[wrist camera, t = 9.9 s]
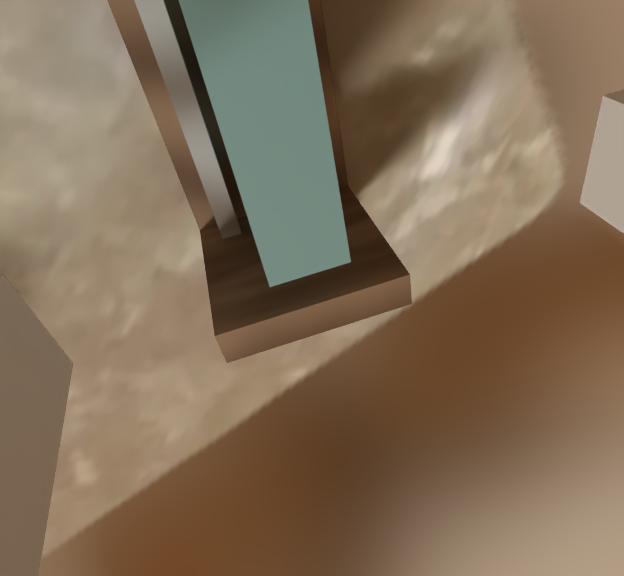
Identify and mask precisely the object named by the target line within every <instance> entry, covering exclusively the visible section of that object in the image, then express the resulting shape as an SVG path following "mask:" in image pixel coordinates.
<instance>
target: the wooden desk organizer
mask: <svg viewBox="0 0 624 576" xmlns="http://www.w3.org/2000/svg"><path fill="white" fill-rule="evenodd" d="M108 3H109V5H110V8H111V10H112V13H113V15H114V18H115V20H116V23H117V25H118V28H119V30H120V33H121V35H122V38H123V40H124V43H125V45H126V48H127V50H128V53H129V55H130V57H131V60H132V62H133V65H134V67H135V70H136V72H137V75H138V77H139V80H140V82H141V85H142V87H143V90H144V92H145V95H146V97H147V100H148V102H149V105H150V107H151V110H152V112H153V115H154V117H155V120H156V122H157V125H158V127H159V130H160V132H161V135H162V137H163V140H164V142H165V145H166V147H167V150H168V152H169V154H170V157H171V159H172V162H173V164H174V167H175V169H176V172H177V174H178V177H179V179H180V182H181V184H182V187H183V189H184V192H185V194H186V197H187V199H188V202H189V204H190V207H191V209H192V212H193V214H194V217H195V219H196V222H197V224H198V227H199V229H200V234H201V241H202V248H203V255H204V262H205V270H206V277H207V284H208V291H209V298H210V305H211V312H212V319H213V326H214V333H215V337H216V340H217V342H218V344H219V346H220V348H221V351H222V353H223V355H224V357H225V359H226V362H227V363H228V362H231V361H234V360H238V359H241V358H244V357H247V356H250V355H253V354H256V353H259V352H263V351H266V350H269V349H272V348H275V347H278V346H281V345H284V344H288V343H291V342H294V341H297V340H300V339H303V338H306V337H309V336H313V335H316V334H319V333H322V332H325V331H328V330H331V329H334V328H337V327H341V326H344V325H347V324H350V323H353V322H356V321H359V320H362V319H366V318H369V317H372V316H375V315H378V314H381V313H384V312H387V311H391V310H394V309H397V308H400V307H403V306H406V305H409V304H412V300H411V284H410V274H409V273H408V271H407V270H406V268H405V267H404V265H403V264H402V263H401V261H400V260H399V258H398V257H397V255H396V254H395V253H394V251H393V250H392V248H391V247H390V245H389V244H388V243H387V241H386V240H385V238H384V237H383V235H382V234H381V233H380V231H379V230H378V228H377V227H376V225H375V224H374V222H373V221H372V220H371V218H370V217H369V215H368V214H367V212H366V211H365V210H364V208H363V207H362V205H361V204H360V202H359V201H358V200H357V198H356V197H355V195H354V194H353V192H352V191H351V190H350V188H349V187H348V182H347V175H346V168H345V162H344V155H343V148H342V142H341V135H340V128H339V122H338V115H337V108H336V101H335V95H334V88H333V81H332V75H331V68H330V61H329V55H328V48H327V41H326V35H325V28H324V21H323V14H322V8H321V1H320V0H308V3H309V9H310V15H311V21H312V27H313V33H314V39H315V45H316V51H317V57H318V64H319V70H320V76H321V82H322V88H323V94H324V100H325V106H326V112H327V118H328V125H329V131H330V137H331V143H332V149H333V155H334V161H335V167H336V173H337V179H338V186H339V192H340V198H341V204H342V210H343V216H344V222H345V228H346V234H347V240H348V247H349V253H350V259H351V262H350V263H346V264H343V265H340V266H337V267H333V268H330V269H327V270H324V271H321V272H317V273H314V274H311V275H308V276H304V277H301V278H298V279H295V280H292V281H288V282H285V283H282V284H279V285H275V286H272V287H270V286H269V283H268V280H267V277H266V274H265V271H264V268H263V264H262V261H261V258H260V255H259V252H258V249H257V246H256V242H255V239H254V236H253V233H252V230H251V227H250V223H249V220H248V217H247V214H246V211H245V208H244V205H243V201H242V198H241V195H240V192H239V189H238V186H237V183H236V179H235V176H234V173H233V170H232V167H231V164H230V161H229V157H228V154H227V151H226V148H225V145H224V142H223V138H222V135H221V132H220V129H219V126H218V123H217V120H216V116H215V113H214V110H213V107H212V104H211V101H210V98H209V94H208V91H207V88H206V85H205V82H204V79H203V76H202V72H201V69H200V66H199V63H198V60H197V57H196V53H195V50H194V47H193V44H192V41H191V38H190V35H189V31H188V28H187V25H186V22H185V19H184V16H183V13H182V9H181V6H180V3H179V0H108Z"/></svg>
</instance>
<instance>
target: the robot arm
mask: <svg viewBox="0 0 624 576" xmlns="http://www.w3.org/2000/svg"><path fill="white" fill-rule="evenodd" d="M580 203H581V204H582V205H584V206H585V207H586V208H588V209H589V210H591V211H592V212H594V213H595V214H597V215H598V216H599V217H601V218H602V219H604V220H605V221H607V222H608V223H609V224H611V225H612V226H614V227H615V228H617V229H618V230H619V231H621V232H622V233H624V90H620V91H617V92H614V93H610V94H607V95H604V96H603V98H602V103H601V108H600V112H599V117H598V121H597V126H596V131H595V136H594V140H593V145H592V149H591V154H590V159H589V163H588V167H587V172H586V177H585V182H584V186H583V191H582V195H581V200H580ZM72 367H73V362H72V361H71V360H70V359H69V357H68V356H67V355H66V354H65V352H64V351H63V350H62V348H61V347H60V346H59V345H58V343H57V342H56V341H55V340H54V338H53V337H52V336H51V335H50V333H49V332H48V331H47V329H46V328H45V327H44V326H43V324H42V323H41V322H40V321H39V319H38V318H37V317H36V315H35V314H34V313H33V312H32V310H31V309H30V308H29V307H28V305H27V304H26V303H25V302H24V300H23V299H22V298H21V296H20V295H19V294H18V293H17V291H16V290H15V289H14V288H13V286H12V285H11V284H10V283H9V281H8V280H7V279H6V277H5V276H4V275H3V274H2V275H0V576H38V574H39V568H40V562H41V556H42V550H43V544H44V538H45V532H46V526H47V519H48V513H49V507H50V501H51V495H52V489H53V483H54V477H55V471H56V465H57V458H58V452H59V446H60V440H61V434H62V428H63V422H64V416H65V410H66V404H67V398H68V391H69V385H70V379H71V373H72Z"/></svg>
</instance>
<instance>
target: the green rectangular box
mask: <svg viewBox="0 0 624 576" xmlns="http://www.w3.org/2000/svg"><path fill="white" fill-rule="evenodd" d="M179 3H180V6H181V9H182V13H183V16H184V19H185V22H186V25H187V28H188V31H189V35H190V38H191V41H192V44H193V47H194V50H195V53H196V57H197V60H198V63H199V66H200V69H201V72H202V76H203V79H204V82H205V85H206V88H207V91H208V94H209V98H210V101H211V104H212V107H213V110H214V113H215V116H216V120H217V123H218V126H219V129H220V132H221V135H222V138H223V142H224V145H225V148H226V151H227V154H228V157H229V161H230V164H231V167H232V170H233V173H234V176H235V179H236V183H237V186H238V189H239V192H240V195H241V198H242V201H243V205H244V208H245V211H246V214H247V217H248V220H249V223H250V227H251V230H252V233H253V236H254V239H255V242H256V246H257V249H258V252H259V255H260V258H261V261H262V264H263V268H264V271H265V274H266V277H267V280H268V283H269V286H270V287H272V286H275V285H279V284H282V283H285V282H288V281H292V280H295V279H298V278H301V277H304V276H308V275H311V274H314V273H317V272H321V271H324V270H327V269H330V268H333V267H337V266H340V265H343V264H346V263H350V262H351V259H350V253H349V247H348V240H347V234H346V228H345V222H344V216H343V210H342V204H341V198H340V192H339V186H338V179H337V173H336V167H335V161H334V155H333V149H332V143H331V137H330V131H329V125H328V118H327V112H326V106H325V100H324V94H323V88H322V82H321V76H320V70H319V64H318V57H317V51H316V45H315V39H314V33H313V27H312V21H311V15H310V9H309V3H308V0H179Z"/></svg>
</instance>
